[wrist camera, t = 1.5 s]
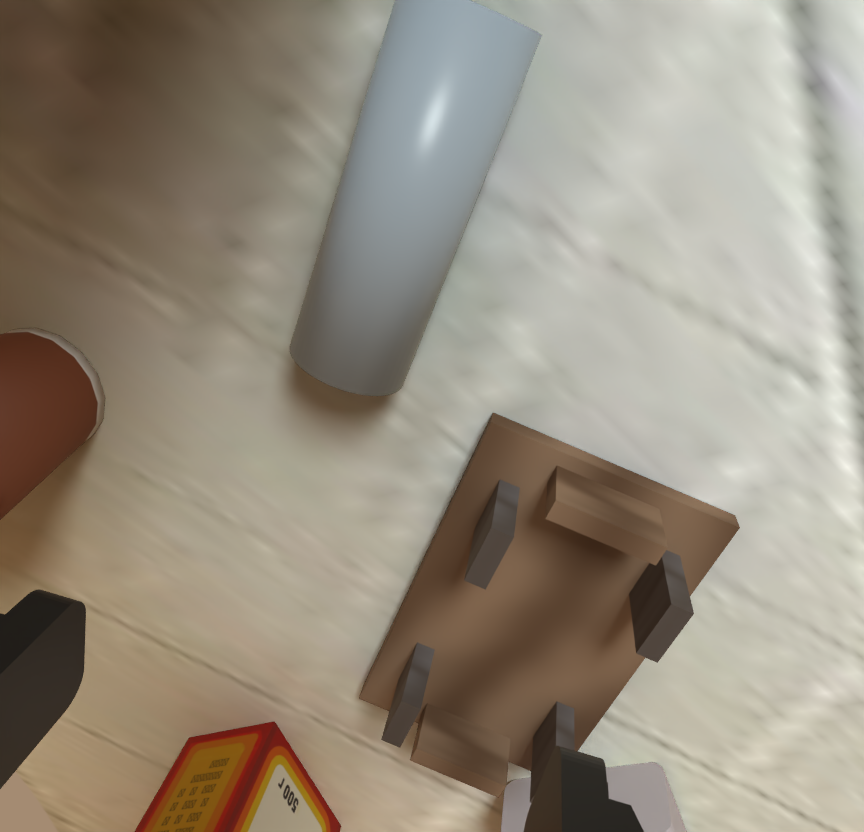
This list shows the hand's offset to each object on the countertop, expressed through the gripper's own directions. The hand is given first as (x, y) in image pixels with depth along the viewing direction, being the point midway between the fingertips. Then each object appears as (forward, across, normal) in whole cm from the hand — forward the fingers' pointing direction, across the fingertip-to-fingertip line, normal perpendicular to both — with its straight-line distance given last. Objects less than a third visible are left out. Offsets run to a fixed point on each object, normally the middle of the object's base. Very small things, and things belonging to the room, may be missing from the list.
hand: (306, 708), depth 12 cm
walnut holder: (+22, -7, +13) cm, 26 cm away
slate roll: (+21, +4, -6) cm, 22 cm away
